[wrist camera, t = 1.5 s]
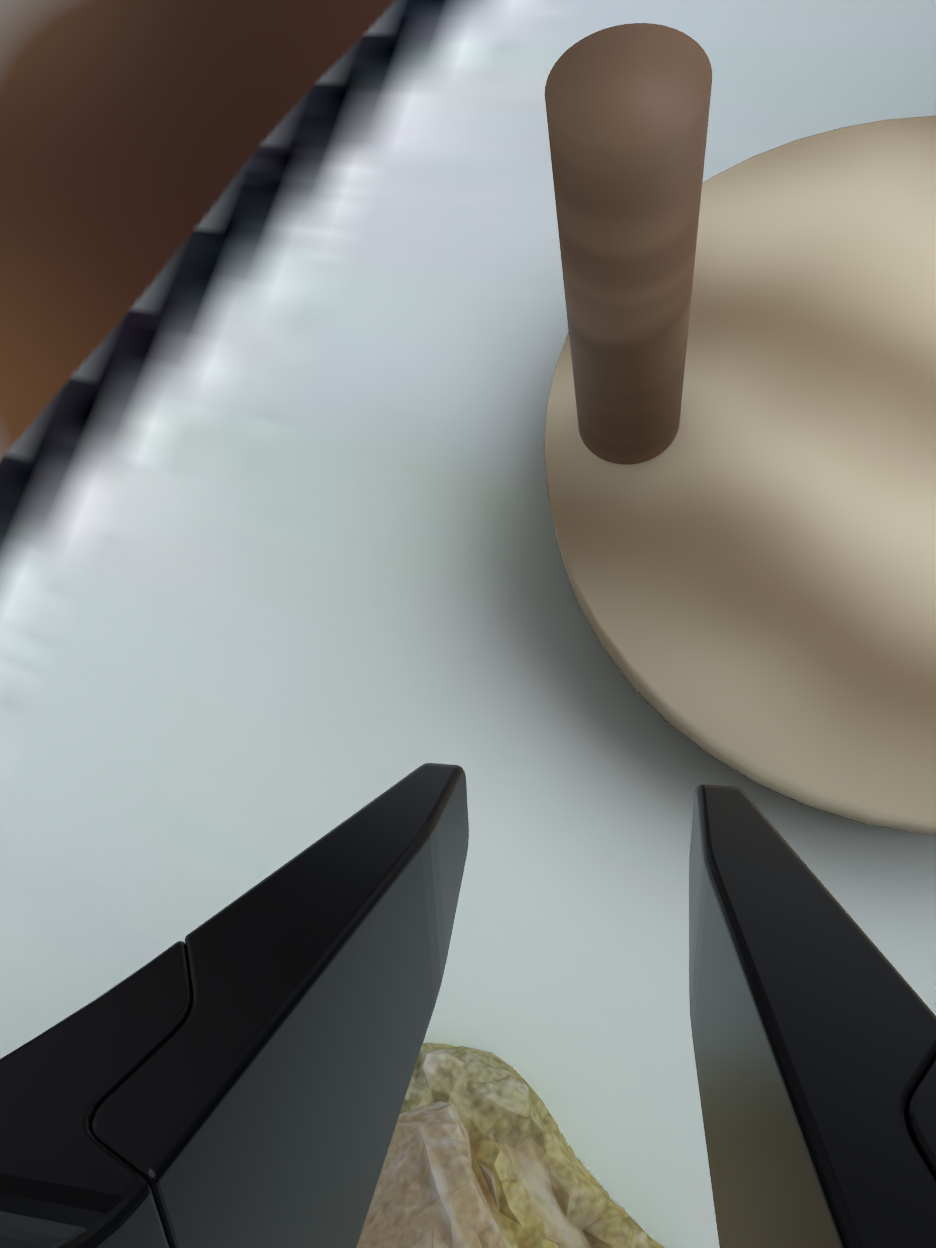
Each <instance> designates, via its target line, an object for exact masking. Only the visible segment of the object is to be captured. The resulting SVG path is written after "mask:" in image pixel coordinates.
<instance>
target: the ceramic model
mask: <svg viewBox="0 0 936 1248" xmlns="http://www.w3.org/2000/svg"><path fill="white" fill-rule="evenodd" d="M357 1248H664V1247H663V1246H661V1245H660V1244H658V1243H657V1242H655V1241H654V1240H653V1239H652V1238H650V1237H649V1236H648V1235H647V1234H646V1232H645V1231H644V1230H643V1229H642V1228H641V1227H640V1226H639V1225H638V1224H637V1223H636V1222H635V1221H634V1220H633V1219H632V1218H631V1217H630V1216H629V1215H628V1214H627V1213H626V1211H625V1210H624V1209H623V1208H622V1207H621V1206H619V1205H617V1204H616V1203H615V1202H614V1201H612V1200H611V1199H610V1197H609V1195H608V1194H607V1192H606V1191H605V1190H604V1189H603V1188H602V1186H601V1185H600V1184H599V1183H598V1182H597V1180H596V1179H595V1178H594V1177H593V1176H592V1175H591V1174H590V1173H589V1171H588V1170H587V1169H586V1168H585V1167H584V1166H583V1165H582V1163H581V1162H580V1160H578V1159H577V1158H576V1157H575V1154H574V1152H573V1150H572V1148H571V1147H570V1146H568V1145H567V1143H566V1140H565V1138H564V1136H563V1135H562V1134H561V1132H560V1130H559V1128H558V1126H557V1124H556V1122H555V1121H554V1119H553V1118H552V1116H551V1115H550V1113H549V1111H548V1110H547V1108H546V1106H545V1105H544V1103H543V1102H542V1100H541V1099H540V1098H539V1097H538V1096H537V1094H536V1093H535V1092H534V1091H533V1089H532V1088H531V1087H530V1086H529V1085H528V1084H527V1082H526V1081H525V1080H524V1079H523V1078H522V1077H521V1076H520V1075H519V1074H518V1073H517V1072H516V1071H515V1070H514V1068H513V1067H511V1066H510V1065H508V1064H507V1063H506V1062H504V1061H503V1060H501V1059H500V1058H499V1057H497V1056H496V1055H494V1054H493V1053H491V1052H486V1051H481V1050H477V1049H472V1048H467V1047H454V1046H450V1045H444V1044H432V1043H423V1044H422V1047H421V1050H420V1053H419V1056H418V1059H417V1062H416V1065H415V1068H414V1072H413V1075H412V1078H411V1081H410V1084H409V1087H408V1090H407V1093H406V1096H405V1099H404V1102H403V1106H402V1109H401V1112H400V1115H399V1118H398V1121H397V1124H396V1127H395V1130H394V1133H393V1136H392V1139H391V1143H390V1146H389V1149H388V1152H387V1155H386V1158H385V1161H384V1164H383V1167H382V1170H381V1173H380V1177H379V1180H378V1183H377V1186H376V1189H375V1192H374V1195H373V1198H372V1201H371V1204H370V1207H369V1211H368V1214H367V1217H366V1220H365V1223H364V1226H363V1229H362V1232H361V1235H360V1238H359V1241H358V1245H357Z"/></svg>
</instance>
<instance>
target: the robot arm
mask: <svg viewBox="0 0 936 1248" xmlns="http://www.w3.org/2000/svg"><path fill="white" fill-rule="evenodd" d="M468 839H469V826H468V808H467V790H466V776H465V772H464V770H463V769H462V767H460V766H458V765H447V764H435V763H426V764H424V765H422V766H420V767H419V768H417V769H416V770H414V771H413V772H412V773H410V774H409V775H408V776H406V777H405V778H403V779H402V780H401V781H399V782H398V783H397V784H395V785H394V786H392V787H391V788H390V789H388V790H387V791H385V792H384V793H383V794H381V795H380V796H379V797H377V798H376V799H374V800H373V801H372V802H370V803H369V804H368V805H366V806H365V807H363V808H362V809H361V810H359V811H358V812H357V813H355V814H354V815H352V816H351V817H350V818H348V819H347V820H345V821H344V822H343V823H341V824H340V825H339V826H337V827H336V828H334V829H333V830H332V831H330V832H329V833H328V834H326V835H325V836H323V837H322V838H321V839H319V840H318V841H316V842H315V843H314V844H312V845H311V846H310V847H308V848H307V849H305V850H304V851H303V852H301V853H300V854H299V855H297V856H296V857H294V858H293V859H292V860H290V861H289V862H287V863H286V864H285V865H283V866H282V867H281V868H279V869H278V870H276V871H275V872H274V873H272V874H271V875H270V876H268V877H267V878H265V879H264V880H263V881H261V882H260V883H259V884H257V885H256V886H254V887H253V888H252V889H250V890H249V891H247V892H246V893H245V894H243V895H242V896H241V897H239V898H238V899H236V900H235V901H234V902H232V903H231V904H230V905H228V906H227V907H225V908H224V909H223V910H221V911H220V912H218V913H217V914H216V915H214V916H213V917H212V918H210V919H209V920H207V921H206V922H205V923H203V924H202V925H201V926H199V927H198V928H196V929H195V930H194V931H192V932H191V933H190V934H188V935H187V936H186V938H185V943H184V942H182V941H179V942H177V943H175V944H174V945H172V946H171V947H170V948H168V949H167V950H166V951H164V952H163V953H161V954H160V955H159V956H157V957H156V958H155V959H153V960H152V961H150V962H149V963H148V964H146V965H145V966H143V967H142V968H140V969H139V970H138V971H136V972H135V973H133V974H132V975H130V976H129V977H127V978H126V979H125V980H123V981H122V982H120V983H119V984H117V985H116V986H114V987H113V988H112V989H110V990H109V991H107V992H106V993H104V994H103V995H101V996H100V997H98V998H97V999H96V1000H94V1001H92V1002H91V1003H89V1004H88V1005H86V1006H85V1007H83V1008H81V1009H80V1010H78V1011H77V1012H75V1013H74V1014H72V1015H70V1016H69V1017H67V1018H66V1019H64V1020H62V1021H61V1022H59V1023H58V1024H56V1025H55V1026H53V1027H51V1028H50V1029H48V1030H47V1031H45V1032H44V1033H42V1034H40V1035H39V1036H37V1037H36V1038H34V1039H32V1040H31V1041H29V1042H28V1043H26V1044H24V1045H23V1046H21V1047H19V1048H18V1049H16V1050H14V1051H13V1052H11V1053H9V1054H8V1055H6V1056H5V1057H3V1058H1V1059H0V1248H357V1245H358V1241H359V1238H360V1235H361V1232H362V1229H363V1226H364V1223H365V1220H366V1217H367V1214H368V1211H369V1207H370V1204H371V1201H372V1198H373V1195H374V1192H375V1189H376V1186H377V1183H378V1180H379V1177H380V1173H381V1170H382V1167H383V1164H384V1161H385V1158H386V1155H387V1152H388V1149H389V1146H390V1143H391V1139H392V1136H393V1133H394V1130H395V1127H396V1124H397V1121H398V1118H399V1115H400V1112H401V1109H402V1106H403V1102H404V1099H405V1096H406V1093H407V1090H408V1087H409V1084H410V1081H411V1078H412V1075H413V1072H414V1068H415V1065H416V1062H417V1059H418V1056H419V1053H420V1050H421V1047H422V1044H423V1041H424V1038H425V1034H426V1031H427V1028H428V1025H429V1022H430V1019H431V1016H432V1013H433V1010H434V1007H435V1003H436V1000H437V996H438V993H439V989H440V986H441V982H442V978H443V973H444V968H445V964H446V959H447V954H448V949H449V944H450V939H451V934H452V928H453V923H454V918H455V913H456V908H457V902H458V897H459V892H460V887H461V882H462V876H463V871H464V866H465V861H466V856H467V849H468ZM689 994H690V1017H691V1027H692V1037H693V1045H694V1053H695V1060H696V1068H697V1076H698V1084H699V1091H700V1099H701V1107H702V1114H703V1122H704V1130H705V1137H706V1145H707V1153H708V1160H709V1168H710V1176H711V1183H712V1191H713V1199H714V1207H715V1214H716V1222H717V1230H718V1237H719V1245H720V1248H936V1016H935V1015H934V1013H933V1012H932V1011H931V1010H930V1009H929V1008H928V1006H927V1005H926V1004H925V1003H924V1002H923V1001H922V999H921V998H920V997H919V996H918V995H917V994H916V992H915V991H914V990H913V989H912V988H911V987H910V985H909V984H908V983H907V982H906V981H905V980H904V978H903V977H902V976H901V975H900V974H899V973H898V971H897V970H896V969H895V968H894V967H893V966H892V964H891V963H890V962H889V961H888V960H887V959H886V958H885V956H884V955H883V954H882V953H881V952H880V951H879V949H878V948H877V947H876V946H875V945H874V944H873V942H872V941H871V940H870V939H869V938H868V937H867V935H866V934H865V933H864V932H863V931H862V930H861V928H860V927H859V926H858V925H857V924H856V923H855V921H854V920H853V919H852V918H851V917H850V916H849V914H848V913H847V912H846V911H845V910H844V909H843V907H842V906H841V905H840V904H839V903H838V902H837V900H836V899H835V898H834V897H833V896H832V895H831V894H830V892H829V891H828V890H827V889H826V888H825V887H824V885H823V884H822V883H821V882H820V881H819V880H818V878H817V877H816V876H815V875H814V874H813V873H812V871H811V870H810V869H809V868H808V867H807V866H806V864H805V863H804V862H803V861H802V860H801V859H800V857H799V856H798V855H797V854H796V853H795V852H794V850H793V849H792V848H791V847H790V846H789V845H788V843H787V842H786V841H785V840H784V839H783V838H782V837H781V835H780V834H779V833H778V832H777V831H776V830H775V828H774V827H773V826H772V825H771V824H770V823H769V821H768V820H767V819H766V818H765V817H764V816H763V814H762V813H761V812H760V811H759V810H758V809H757V807H756V806H755V805H754V804H753V803H752V802H751V800H750V799H749V798H748V797H747V796H746V795H745V793H744V792H743V791H742V790H740V789H739V788H737V787H730V786H717V785H700V786H698V787H697V788H696V791H695V796H694V807H693V820H692V833H691V845H690V861H689Z"/></svg>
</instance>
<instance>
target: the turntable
mask: <svg viewBox="0 0 936 1248" xmlns="http://www.w3.org/2000/svg"><path fill="white" fill-rule="evenodd" d="M711 84H712V70H711V64H710V62H709V59H708V56H707V55H706V53H705V52H704V50H703V49H702V48H701V46H700V45H699V44H698V43H697V42H696V41H694V40H693V39H692V38H691V37H689V36H688V35H686V34H684V33H682V32H680V31H678V30H676V29H673V28H670V27H666V26H662V25H657V24H647V23H634V24H624V25H619V26H614V27H610V28H607V29H603V30H601V31H598V32H596V33H593V34H591V35H589V36H587V37H585V38H583V39H582V40H580V41H579V42H577V43H576V44H574V45H573V46H572V47H570V48H569V49H568V50H567V51H566V52H565V53H564V54H563V55H562V56H561V57H560V58H559V59H558V61H557V62H556V63H555V65H554V66H553V68H552V70H551V72H550V74H549V76H548V79H547V83H546V87H545V101H546V111H547V121H548V130H549V140H550V150H551V160H552V170H553V180H554V190H555V200H556V210H557V220H558V229H559V239H560V249H561V259H562V269H563V279H564V289H565V299H566V309H567V319H568V328H569V332H568V335H567V337H566V340H565V343H564V345H563V348H562V351H561V353H560V356H559V359H558V361H557V364H556V367H555V372H554V376H553V381H552V386H551V390H550V395H549V399H548V404H547V413H546V429H545V444H544V452H545V464H546V476H547V488H548V495H549V501H550V506H551V512H552V517H553V522H554V527H555V531H556V536H557V540H558V544H559V548H560V553H561V557H562V561H563V565H564V568H565V571H566V573H567V576H568V578H569V581H570V583H571V586H572V588H573V591H574V594H575V596H576V599H577V601H578V604H579V606H580V608H581V610H582V612H583V613H584V615H585V617H586V619H587V621H588V622H589V624H590V626H591V628H592V629H593V631H594V633H595V635H596V636H597V638H598V640H599V642H600V644H601V645H602V647H603V648H604V650H605V651H606V652H607V654H608V655H609V656H610V658H611V659H612V660H613V661H614V663H615V664H616V665H617V667H618V668H619V669H620V671H621V672H622V673H623V675H624V676H625V677H626V679H627V680H628V681H629V683H630V684H631V685H632V686H633V687H634V688H635V689H636V690H637V691H638V692H639V693H640V694H641V695H642V696H643V697H644V698H645V699H646V700H647V701H648V702H649V703H650V704H651V705H652V706H653V707H654V708H655V709H656V710H657V711H658V712H659V713H660V715H661V716H662V717H663V718H664V719H665V720H666V721H667V722H669V723H670V724H671V725H673V726H674V727H675V728H676V729H678V730H679V731H680V732H682V733H683V734H684V735H685V736H687V737H688V738H689V739H690V740H692V741H693V742H694V743H696V744H697V745H698V746H699V747H701V748H702V749H703V750H704V751H706V752H707V753H708V754H710V755H711V756H713V757H715V758H716V759H718V760H720V761H721V762H723V763H725V764H726V765H728V766H730V767H731V768H733V769H735V770H736V771H738V772H740V773H741V774H743V775H745V776H746V777H748V778H750V779H751V780H753V781H755V782H756V783H758V784H761V785H763V786H765V787H767V788H770V789H772V790H774V791H776V792H779V793H781V794H783V795H785V796H787V797H790V798H792V799H794V800H796V801H799V802H801V803H803V804H805V805H807V806H810V807H813V808H817V809H820V810H823V811H826V812H829V813H833V814H836V815H839V816H842V817H845V818H849V819H852V820H855V821H858V822H861V823H864V824H870V825H875V826H880V827H886V828H891V829H896V830H902V831H907V832H912V833H918V834H923V835H936V116H927V117H915V118H902V119H889V120H883V121H877V122H872V123H866V124H860V125H854V126H848V127H843V128H839V129H835V130H831V131H828V132H824V133H820V134H817V135H813V136H809V137H806V138H802V139H798V140H795V141H792V142H790V143H787V144H784V145H782V146H779V147H777V148H774V149H771V150H769V151H766V152H764V153H761V154H758V155H756V156H753V157H751V158H749V159H747V160H745V161H743V162H741V163H739V164H737V165H735V166H733V167H731V168H729V169H727V170H725V171H723V172H721V173H719V174H717V175H715V176H713V177H712V178H710V179H709V180H707V181H706V182H704V183H703V184H702V179H703V169H704V158H705V148H706V137H707V126H708V116H709V105H710V95H711Z"/></svg>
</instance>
